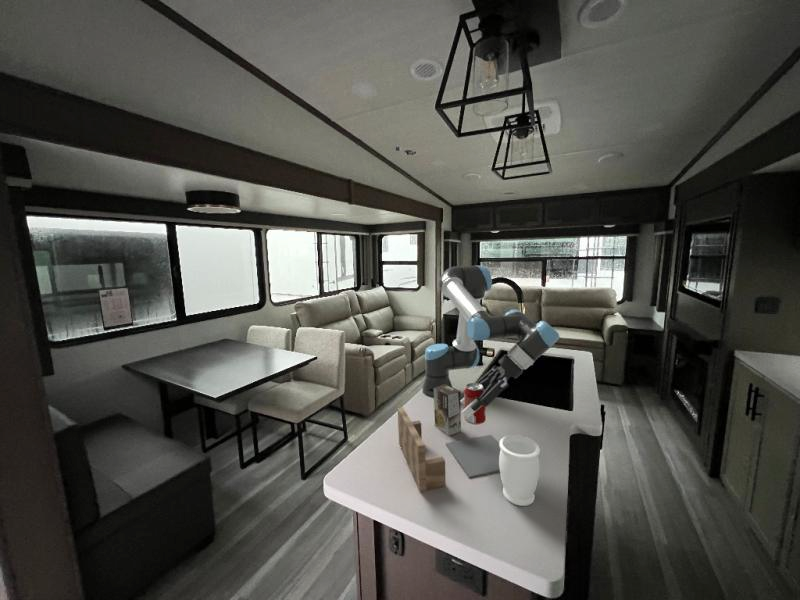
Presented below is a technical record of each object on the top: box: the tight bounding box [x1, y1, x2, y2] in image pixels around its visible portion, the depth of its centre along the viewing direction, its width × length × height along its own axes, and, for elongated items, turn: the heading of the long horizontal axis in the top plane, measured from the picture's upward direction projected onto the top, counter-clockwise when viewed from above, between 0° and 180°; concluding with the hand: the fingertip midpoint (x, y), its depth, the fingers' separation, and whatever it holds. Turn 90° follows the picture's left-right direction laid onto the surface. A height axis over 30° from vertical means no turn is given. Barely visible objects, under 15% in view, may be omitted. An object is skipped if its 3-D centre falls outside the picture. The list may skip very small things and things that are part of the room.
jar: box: [498, 434, 541, 507], centre depth 85 cm, size 11×10×15 cm
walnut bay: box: [397, 407, 447, 493], centre depth 100 cm, size 24×8×14 cm, turn 14°
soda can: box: [463, 382, 487, 426], centre depth 102 cm, size 7×7×12 cm
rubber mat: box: [445, 434, 501, 479], centre depth 104 cm, size 18×18×1 cm
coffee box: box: [433, 384, 462, 436], centre depth 121 cm, size 9×6×16 cm
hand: (464, 409), depth 102 cm, fingers closed on soda can, 7 cm apart
